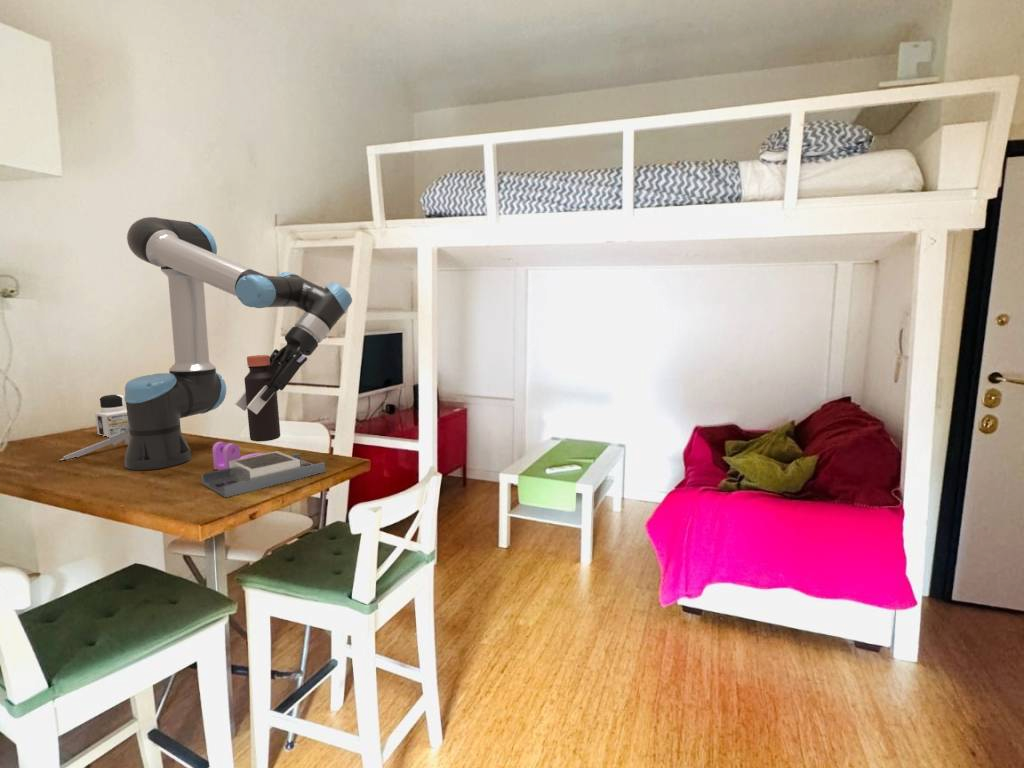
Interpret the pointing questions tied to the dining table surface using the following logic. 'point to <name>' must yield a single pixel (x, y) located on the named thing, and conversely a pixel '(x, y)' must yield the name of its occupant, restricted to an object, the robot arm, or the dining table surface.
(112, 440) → the caliper
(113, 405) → the container
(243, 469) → the grey base plate
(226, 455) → the bracket
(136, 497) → the dining table surface
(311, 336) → the robot arm
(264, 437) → the vinegar
